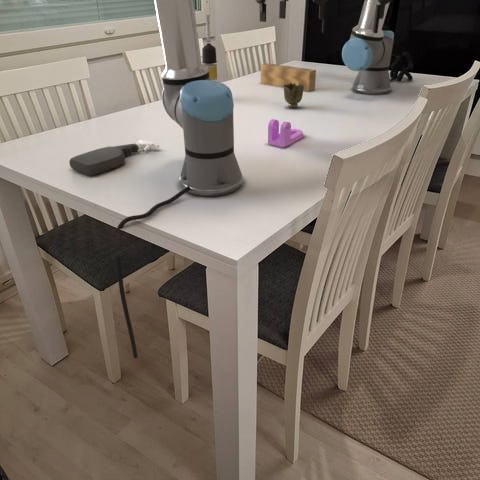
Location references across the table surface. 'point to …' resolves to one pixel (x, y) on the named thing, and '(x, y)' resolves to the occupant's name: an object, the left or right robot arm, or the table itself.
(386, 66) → the right robot arm
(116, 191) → the table surface
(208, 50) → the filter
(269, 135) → the bracket
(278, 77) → the bar
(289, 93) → the cup
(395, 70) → the squiggle
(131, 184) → the table surface
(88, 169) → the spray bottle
